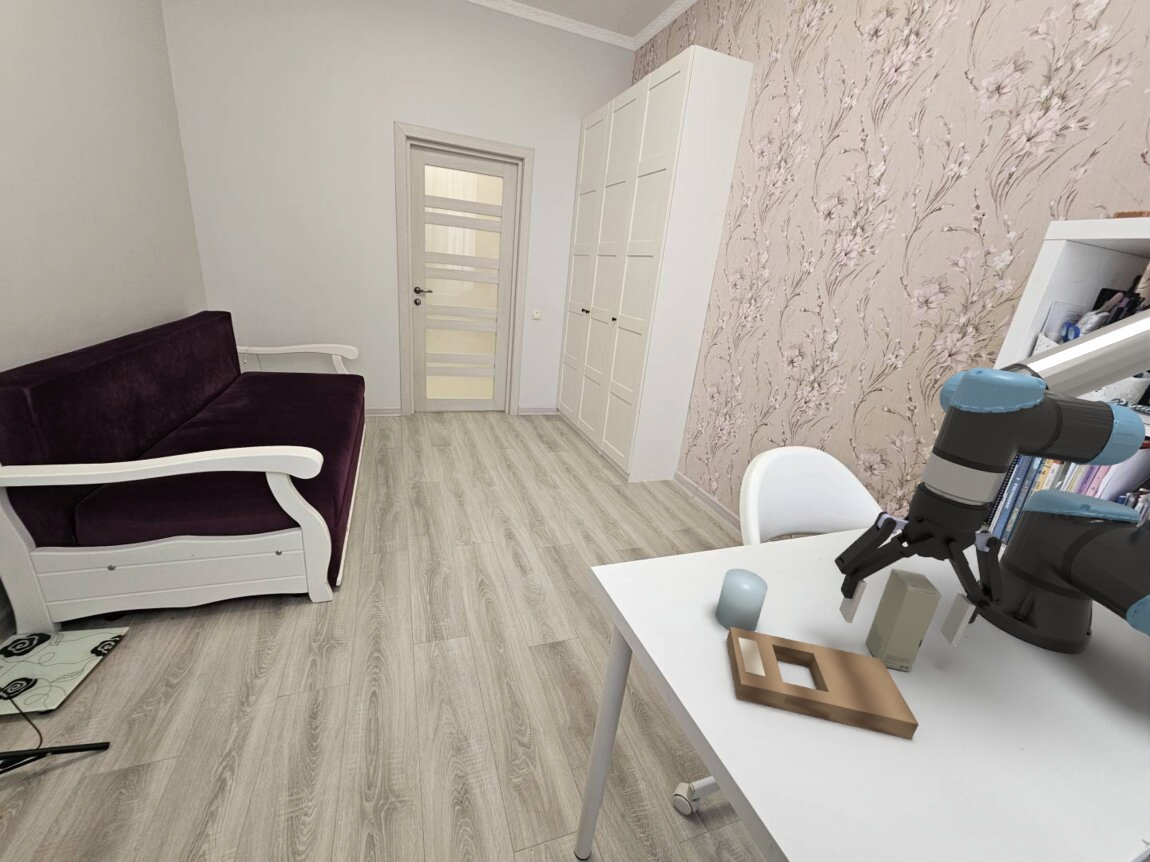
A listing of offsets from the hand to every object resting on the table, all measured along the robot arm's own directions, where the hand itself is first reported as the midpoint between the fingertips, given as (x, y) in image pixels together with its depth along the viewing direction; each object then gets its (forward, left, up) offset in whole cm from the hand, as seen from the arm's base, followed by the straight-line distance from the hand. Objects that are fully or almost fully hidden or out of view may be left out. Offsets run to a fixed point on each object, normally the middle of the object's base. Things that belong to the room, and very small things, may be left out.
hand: (895, 627), depth 66 cm
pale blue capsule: (+21, -1, -5) cm, 21 cm away
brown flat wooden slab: (+13, +9, -5) cm, 16 cm away
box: (0, 0, -5) cm, 5 cm away
